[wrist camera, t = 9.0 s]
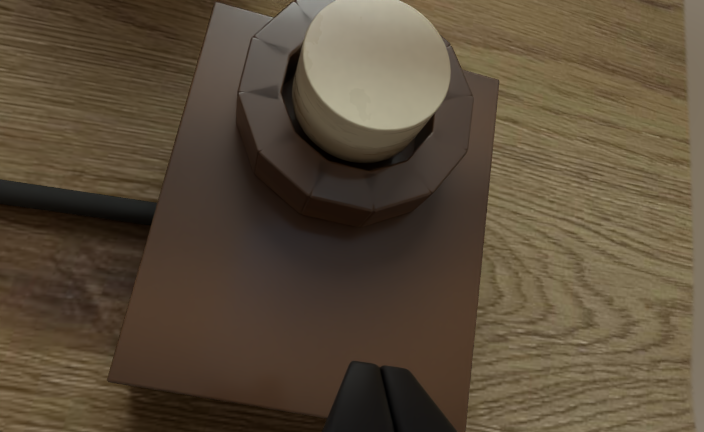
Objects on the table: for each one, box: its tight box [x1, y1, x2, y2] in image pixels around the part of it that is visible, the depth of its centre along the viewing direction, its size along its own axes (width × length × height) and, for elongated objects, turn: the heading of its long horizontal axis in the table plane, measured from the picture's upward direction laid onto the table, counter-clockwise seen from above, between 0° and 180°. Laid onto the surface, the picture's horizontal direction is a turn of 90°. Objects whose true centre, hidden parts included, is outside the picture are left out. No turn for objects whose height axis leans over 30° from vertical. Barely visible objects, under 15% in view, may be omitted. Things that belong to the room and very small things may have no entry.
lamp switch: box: [292, 0, 451, 163], centre depth 16 cm, size 4×4×2 cm
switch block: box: [107, 0, 499, 432], centre depth 19 cm, size 12×10×6 cm
